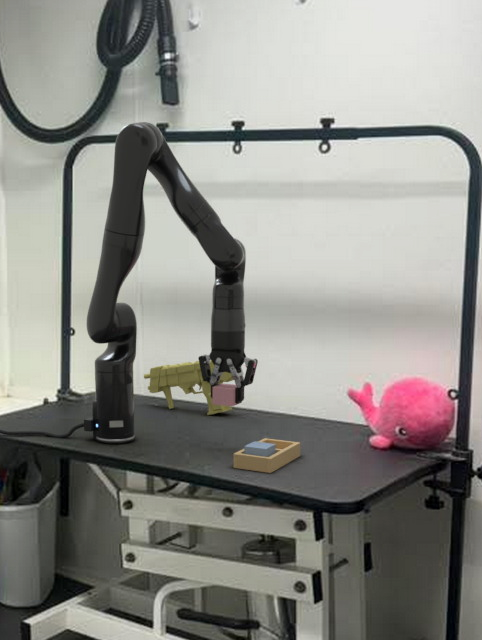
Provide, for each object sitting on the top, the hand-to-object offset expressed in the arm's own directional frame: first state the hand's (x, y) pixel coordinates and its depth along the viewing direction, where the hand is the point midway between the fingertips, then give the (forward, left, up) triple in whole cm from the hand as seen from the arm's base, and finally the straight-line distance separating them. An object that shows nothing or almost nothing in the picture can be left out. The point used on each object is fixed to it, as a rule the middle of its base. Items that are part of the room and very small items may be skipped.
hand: (227, 401), depth 213 cm
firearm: (-28, +34, -11) cm, 45 cm away
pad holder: (+12, -5, -11) cm, 18 cm away
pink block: (0, 0, 0) cm, 0 cm away
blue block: (+12, -9, -11) cm, 19 cm away
